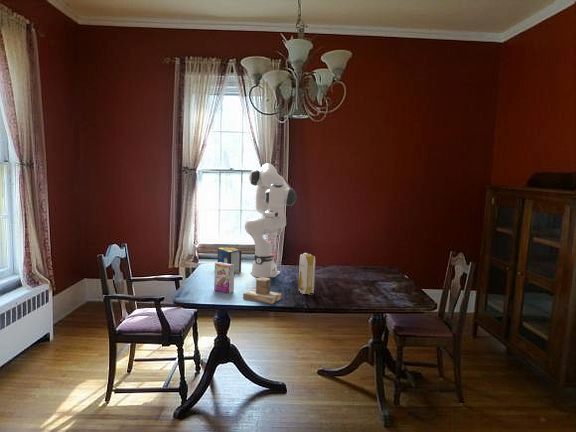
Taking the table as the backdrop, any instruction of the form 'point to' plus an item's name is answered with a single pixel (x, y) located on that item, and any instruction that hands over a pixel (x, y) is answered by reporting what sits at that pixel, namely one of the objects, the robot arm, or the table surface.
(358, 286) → the table surface
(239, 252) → the protein box
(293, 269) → the table surface
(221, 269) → the candy bar box
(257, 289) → the walnut block
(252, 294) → the plinth
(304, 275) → the juice carton
